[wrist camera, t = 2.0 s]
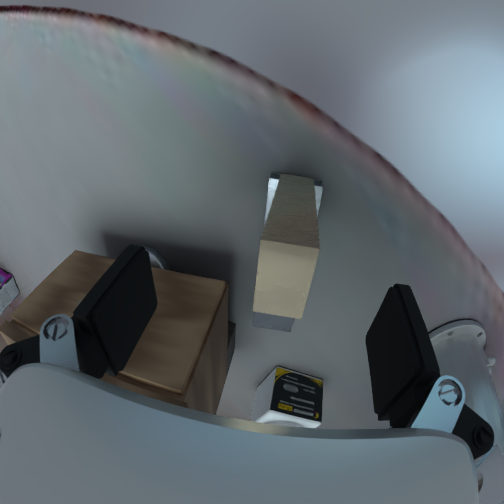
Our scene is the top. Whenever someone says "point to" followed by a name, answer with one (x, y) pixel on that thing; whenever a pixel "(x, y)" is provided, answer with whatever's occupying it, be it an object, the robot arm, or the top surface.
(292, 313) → the wood and grey l-block
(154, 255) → the steel token
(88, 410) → the robot arm
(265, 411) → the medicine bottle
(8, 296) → the candy bar box
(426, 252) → the top surface
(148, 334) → the cabinet
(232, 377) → the top surface
